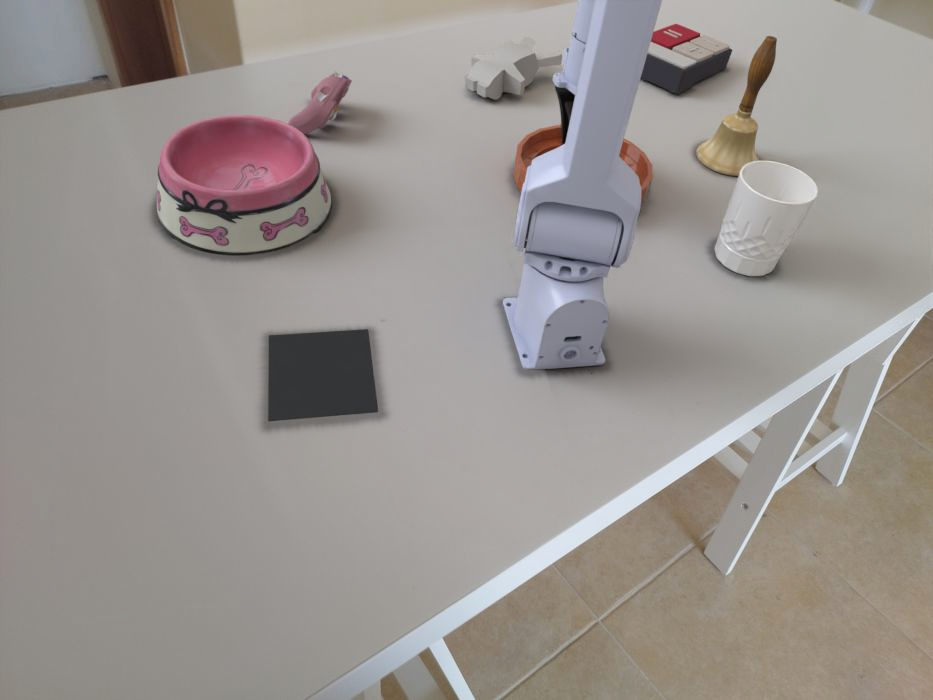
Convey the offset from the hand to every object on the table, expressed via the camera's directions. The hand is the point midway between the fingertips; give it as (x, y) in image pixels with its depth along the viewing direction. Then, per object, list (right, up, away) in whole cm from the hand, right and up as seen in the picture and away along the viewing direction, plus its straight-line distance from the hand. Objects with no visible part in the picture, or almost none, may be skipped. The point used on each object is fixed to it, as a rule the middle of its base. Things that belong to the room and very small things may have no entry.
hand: (574, 153), depth 85 cm
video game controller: (-31, +7, +10) cm, 33 cm away
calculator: (+20, +23, +28) cm, 41 cm away
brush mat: (-25, -25, -20) cm, 41 cm away
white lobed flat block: (-6, +16, +22) cm, 27 cm away
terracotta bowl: (+1, -3, +5) cm, 5 cm away
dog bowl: (-37, -7, -4) cm, 37 cm away
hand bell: (+22, +2, +12) cm, 25 cm away
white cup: (+19, -12, -3) cm, 23 cm away
